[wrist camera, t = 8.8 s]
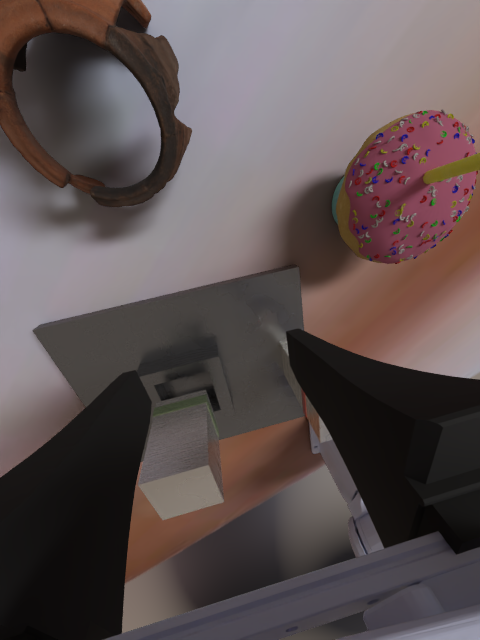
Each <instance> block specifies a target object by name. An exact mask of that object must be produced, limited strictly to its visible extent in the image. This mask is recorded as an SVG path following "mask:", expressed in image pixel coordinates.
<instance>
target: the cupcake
mask: <svg viewBox="0 0 480 640" xmlns="http://www.w3.org/2000/svg"><path fill="white" fill-rule="evenodd" d="M441 111H442V112H439V111H434V110H428V111H419V112H417V113H413V114H409V115H406V116H403V117H401V118H398V119H396V120H394V121H392V122H390V123H388V124H387V125H385V126H384V127H382V128H380V129H379V130H377V131H375V132H374V133H373V134H371V135H370V136H369V137H368V138H367V139H366V141H365V142H364V144H363V145H362V147H361V149H360V150H359V152H358V153H357V154H356V156H355V157H354V158H353V159H352V160H351V162H350V163H349V165H348V167H347V169H346V172H345V176H344V177H343V178H342V179H341V180H340V182H339V183H338V185H337V187H336V189H335V192H334V195H333V199H332V214H333V217H334V220H335V221H336V223H337V224H338V227H339V232H340V235H341V237H342V239H343V240H344V241H345V243H346V244H347V245H348V246H349V247H350V248H351V249H352V250H353V251H354V253H355V254H356V255H357V256H358V257H360V258H362V259H366V260H369V261H373V262H377V263H387V264H390V263H395V264H397V263H400V262H401V261H405V260H409V259H411V258H414V259H415V258H416V257H417V256H418V255H420V254H422V253H423V252H424V253H426V252H427V251H428V250H429V248H433V247H435V246H436V243H438V242H439V241H442V240H443V239H444V238H446V237H447V236H448V235H449V234H450V233H451V232H452V231H453V230H451V229H452V228H453V227H454V225H455V224H456V223H457V222H458V221H459V220H460V218H461V217H462V215H463V214H464V213H465V212H466V211H468V209H469V207H468V205H469V203H470V201H469V200H470V199H471V198H472V196H473V194H472V192H473V189H475V183H476V175H477V174H478V171H477V170H480V153H478V154H477V153H476V152H475V149H474V145H473V143H474V142H475V141H474V139H472V137H473V135H470V134H469V132H468V129H469V127H468V126H467V127H465V125H464V124H463V123H461V122H460V121H458V120H457V119H455V118H454V116H453V115H452V114H449V115H447V114H446V112H445V111H444V110H443V109H442V110H441ZM466 208H467V210H466ZM465 210H466V211H465ZM450 231H451V232H450ZM446 235H447V236H446ZM445 236H446V237H445Z"/></svg>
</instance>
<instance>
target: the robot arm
mask: <svg viewBox="0 0 480 640" xmlns="http://www.w3.org/2000/svg"><path fill="white" fill-rule="evenodd" d="M286 337H287V345H288V354H289V362H290V367H291V369H292V371H293V373H294V375H295V378H296V380H297V382H298V383H299V385H300V387H301V388H302V390H303V391H304V393H305V395H306V396H307V398H308V399H309V401H310V402H311V404H312V405H313V407H314V409H315V410H316V412H317V413H318V415H319V416H320V418H321V419H322V421H323V423H324V424H325V426H326V428H327V430H328V431H329V433H330V435H331V437H332V439H333V440H329V441H326V442H322V443H320V441H319V439H318V438H317V436H316V434H315V432H314V430H313V428H312V426H311V424H310V422H309V429H310V441H311V451H312V453H313V454H317V453H320V454H321V456H322V458H323V460H324V462H325V464H326V466H327V467H328V469H329V471H330V473H331V475H332V477H333V479H334V481H335V483H336V485H337V487H338V489H339V491H340V493H341V495H342V497H343V498H344V500H345V501H346V502H347V506H348V508H349V510H350V512H351V514H352V517H351V518H350V519H349V522H348V526H349V538H350V542H351V545H352V548H353V551H354V553H355V556H356V558H354V559H351V560H348V561H345V562H341V563H338V564H335V565H332V566H329V567H326V568H323V569H320V570H317V571H314V572H310V573H307V574H304V575H301V576H298V577H295V578H292V579H289V580H286V581H283V582H280V583H276V584H273V585H270V586H267V587H264V588H261V589H258V590H255V591H252V592H249V593H246V594H242V595H240V596H236V597H233V598H230V599H227V600H224V601H221V602H218V603H215V604H212V605H209V606H205V607H202V608H199V609H196V610H193V611H190V612H187V613H184V614H181V615H177V616H175V617H172V618H168V619H165V620H162V621H159V622H156V623H153V624H150V625H147V626H144V627H141V628H137V629H134V630H131V631H128V632H125V633H122V617H123V600H124V584H125V572H126V560H127V549H128V539H129V530H130V522H131V513H132V506H133V499H134V492H135V485H136V480H137V475H138V471H139V467H140V462H141V458H142V454H143V450H144V446H145V442H146V438H147V433H148V429H149V424H150V417H151V406H152V401H151V399H150V397H149V395H148V393H147V391H146V389H145V387H144V385H143V383H142V381H141V379H140V377H139V375H138V374H137V372H136V370H133V371H129V372H125V373H122V374H121V375H120V376H118V377H117V378H116V379H115V380H114V381H113V382H112V383H111V384H110V385H109V386H108V387H107V388H106V389H105V390H104V391H103V392H102V393H101V394H100V395H98V396H97V397H96V398H95V399H94V400H93V401H92V402H91V403H90V404H89V405H88V406H87V407H86V408H85V409H84V410H83V411H82V412H81V413H80V414H79V415H78V416H76V417H75V418H74V419H73V420H72V421H71V422H70V423H69V424H68V425H67V426H66V427H64V428H63V429H62V430H61V431H60V432H59V433H58V434H56V435H55V436H54V437H53V438H52V439H51V440H49V441H48V442H47V443H46V444H44V445H43V446H42V447H41V448H39V449H38V450H37V451H36V452H34V453H33V454H32V455H31V456H29V457H28V458H27V459H25V460H24V461H23V462H21V463H20V464H18V465H17V466H16V467H14V468H13V469H12V470H10V471H9V472H8V473H6V474H5V475H3V476H2V477H1V478H0V640H279V639H281V638H284V637H287V636H290V635H293V634H296V633H299V632H302V631H305V630H308V629H311V628H314V627H317V626H320V625H323V624H326V623H329V622H332V621H335V620H338V619H340V618H343V617H346V616H349V615H352V614H355V613H358V612H361V611H364V610H366V611H365V612H364V618H363V619H364V621H365V623H366V626H367V631H366V632H363V633H359V634H355V635H351V636H346V637H342V638H338V639H334V640H480V380H477V379H469V378H460V377H452V376H446V375H440V374H434V373H428V372H422V371H417V370H412V369H408V368H403V367H399V366H395V365H391V364H387V363H383V362H380V361H376V360H373V359H370V358H367V357H364V356H361V355H358V354H355V353H352V352H350V351H347V350H345V349H342V348H340V347H337V346H335V345H333V344H330V343H328V342H326V341H324V340H322V339H320V338H318V337H315V336H313V335H311V334H309V333H307V332H305V331H303V330H301V329H299V328H297V329H293V330H290V331H286ZM367 609H368V610H367Z"/></svg>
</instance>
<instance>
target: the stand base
mask: <svg viewBox="0 0 480 640" xmlns="http://www.w3.org/2000/svg"><path fill="white" fill-rule="evenodd" d="M297 328H299V329H301V330H303V331H304V324H303V311H302V298H301V285H300V272H299V266H297V265H295V264H294V265H290V266H286V267H281V268H277V269H273V270H269V271H265V272H260V273H256V274H252V275H248V276H244V277H239V278H235V279H231V280H227V281H222V282H218V283H214V284H210V285H206V286H201V287H197V288H193V289H189V290H185V291H180V292H176V293H172V294H168V295H163V296H159V297H155V298H151V299H147V300H142V301H138V302H134V303H130V304H126V305H121V306H117V307H113V308H109V309H104V310H100V311H96V312H92V313H88V314H83V315H79V316H75V317H71V318H67V319H62V320H58V321H54V322H50V323H45V324H41V325H39V326H38V327H36V328H35V329H34V330H33V332H34V333H35V335H36V336H37V338H38V339H39V340H40V342H41V343H42V345H43V346H44V348H45V349H46V351H47V352H48V353H49V355H50V356H51V358H52V359H53V361H54V362H55V364H56V365H57V366H58V368H59V369H60V371H61V372H62V374H63V375H64V377H65V378H66V379H67V381H68V382H69V384H70V385H71V387H72V388H73V390H74V391H75V392H76V394H77V395H78V397H79V398H80V400H81V401H82V403H83V404H84V405H85V407H87V406H88V405H89V404H90V403H91V402H92V401H93V400H94V399H95V398H96V397H97V396H98V395H100V394H101V393H102V392H103V391H104V390H105V389H106V388H107V387H108V386H109V385H110V384H111V383H112V382H113V381H114V380H115V379H116V378H117V377H118V376H120V375H121V374H122V373H125V372H129V371H133V370H136V372H137V374H138V375H139V377H140V379H141V381H142V383H143V385H144V387H145V389H146V391H147V393H148V395H149V397H150V399H151V401H152V406H151V417H150V424H149V429H148V433H147V438H146V442H145V446H144V450H143V454H142V458H141V462H142V461H144V456H145V452H146V448H147V443H148V439H149V434H150V430H151V425H152V421H153V412H154V408H155V407H156V403H157V402H160V401H164V400H168V399H171V398H175V397H179V396H183V395H186V394H190V393H194V392H198V391H201V390H205V389H206V392H207V395H208V397H209V400H210V403H211V406H212V409H213V412H214V415H215V418H216V421H217V425H218V429H219V440H221V439H224V438H228V437H232V436H235V435H239V434H242V433H246V432H249V431H253V430H257V429H260V428H264V427H267V426H271V425H274V424H278V423H282V422H285V421H289V420H292V419H296V418H299V417H303V416H306V418H307V419H308V420H309V422H310V424H311V426H312V428H313V430H314V432H315V434H316V436H317V438H318V439H319V441H320V443H322V442H326V441H329V440H333V439H332V437H331V435H330V433H329V431H328V430H327V428H326V426H325V424H324V423H323V421H322V419H321V418H320V416H319V415H318V413H317V412H316V410H315V409H314V407H313V405H312V404H311V402H310V401H309V399H308V398H307V396H306V395H305V393H304V391H303V390H302V388H301V387H300V385H299V383H298V382H297V380H296V378H295V375H294V373H293V371H292V369H291V367H290V362H289V354H288V345H287V337H286V331H290V330H293V329H297Z"/></svg>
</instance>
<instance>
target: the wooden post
mask: <svg viewBox="0 0 480 640" xmlns="http://www.w3.org/2000/svg"><path fill="white" fill-rule="evenodd" d="M138 486H139V487H140V489H141V490H142V491H143V493H144V494H145V496H146V497H147V499H148V500H149V501H150V503H151V504H152V506H153V507H154V509H155V510H156V511H157V513H158V514H159V516H160V517H161V519H162V520H165V519H168V518H172V517H175V516H179V515H182V514H185V513H189V512H192V511H195V510H199V509H202V508H205V507H209V506H212V505H216V504H219V503H222V502H224V495H223V483H222V472H221V460H220V448H219V429H218V425H217V421H216V418H215V415H214V412H213V409H212V406H211V403H210V400H209V397H208V395H207V392H206V389H205V390H201V391H198V392H194V393H190V394H186V395H183V396H179V397H175V398H171V399H168V400H164V401H160V402H157V403H156V407H155V408H154V412H153V421H152V425H151V430H150V434H149V439H148V443H147V448H146V452H145V456H144V461H143V465H142V470H141V474H140V479H139V483H138Z"/></svg>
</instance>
